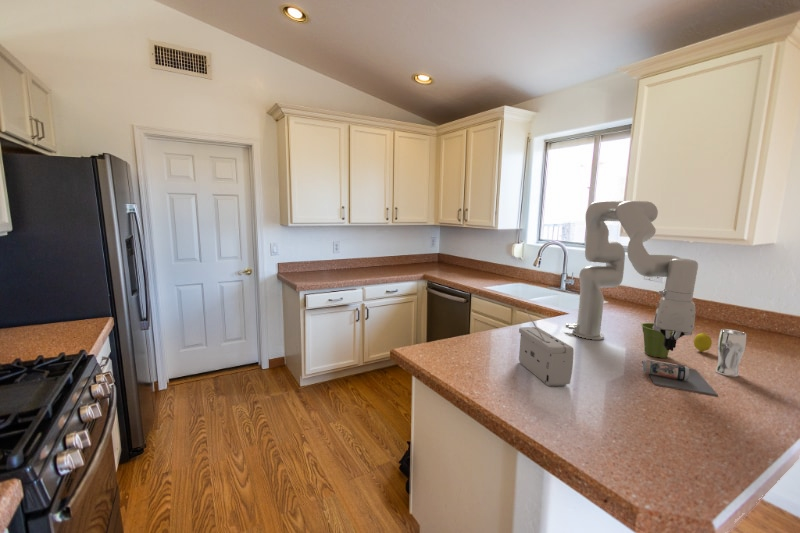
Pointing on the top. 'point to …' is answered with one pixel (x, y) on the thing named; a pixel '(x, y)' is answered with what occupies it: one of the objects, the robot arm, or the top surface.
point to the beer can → (666, 369)
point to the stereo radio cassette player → (545, 356)
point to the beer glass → (730, 351)
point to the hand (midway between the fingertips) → (668, 349)
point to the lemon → (702, 342)
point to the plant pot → (654, 341)
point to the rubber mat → (685, 383)
